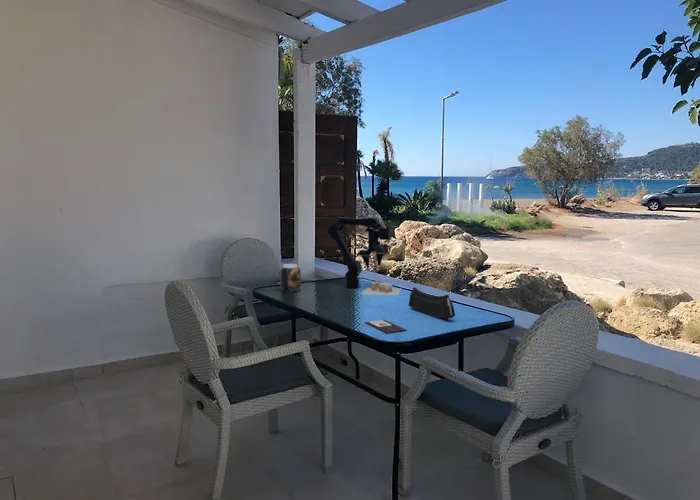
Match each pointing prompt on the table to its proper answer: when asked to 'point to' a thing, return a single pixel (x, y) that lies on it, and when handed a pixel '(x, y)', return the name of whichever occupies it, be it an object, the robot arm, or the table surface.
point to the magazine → (431, 304)
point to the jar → (290, 277)
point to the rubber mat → (369, 291)
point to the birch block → (381, 287)
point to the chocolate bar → (386, 326)
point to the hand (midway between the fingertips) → (373, 266)
